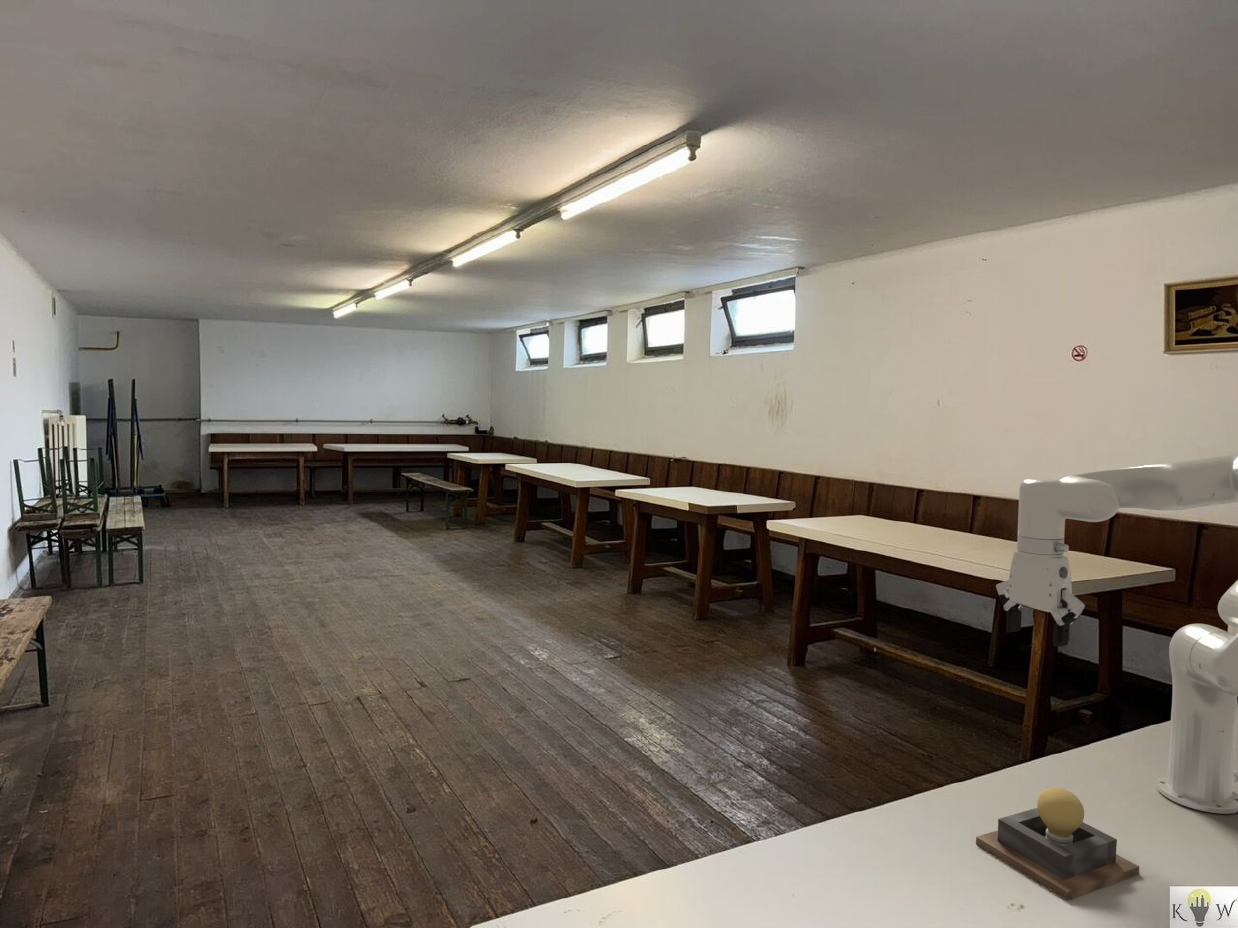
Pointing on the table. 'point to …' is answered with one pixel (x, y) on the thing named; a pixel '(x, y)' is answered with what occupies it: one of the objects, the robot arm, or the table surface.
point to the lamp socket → (1058, 855)
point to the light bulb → (1060, 814)
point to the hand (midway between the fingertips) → (1036, 638)
